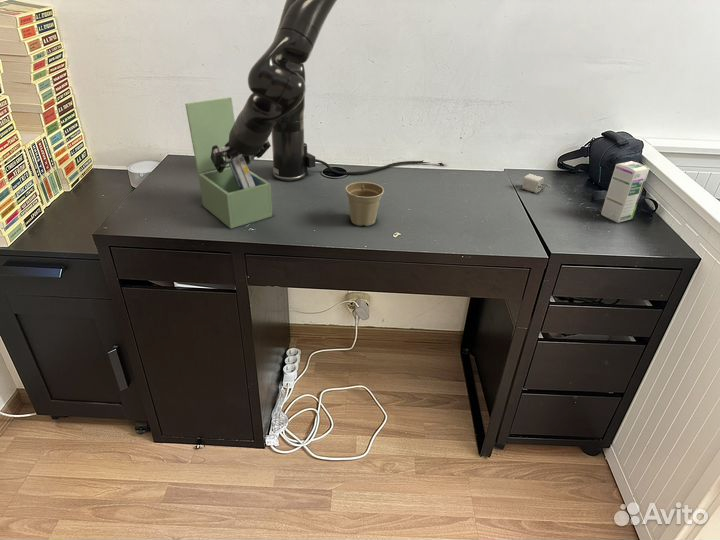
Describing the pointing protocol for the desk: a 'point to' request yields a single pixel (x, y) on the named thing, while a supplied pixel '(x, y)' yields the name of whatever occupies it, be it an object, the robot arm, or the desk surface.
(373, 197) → the flower pot
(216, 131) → the lid
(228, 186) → the bin
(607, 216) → the syrup box
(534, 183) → the usb wall charger
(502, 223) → the desk surface
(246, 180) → the walkman
